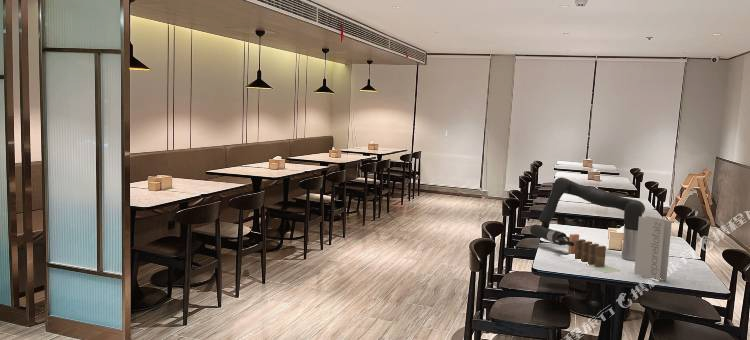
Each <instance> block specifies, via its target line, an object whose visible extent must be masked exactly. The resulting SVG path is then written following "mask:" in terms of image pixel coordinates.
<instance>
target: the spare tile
mask: <svg viewBox="0 0 750 340" xmlns="http://www.w3.org/2000/svg"><path fill="white" fill-rule="evenodd" d="M568 237H569V241H570V242H573V243H574V246H570V245H568V249H567V254H575V246H576V240H579V239H580V234H578V233H571V234H569V236H568Z"/></svg>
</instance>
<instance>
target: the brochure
mask: <svg viewBox="0 0 750 340" xmlns="http://www.w3.org/2000/svg"><path fill="white" fill-rule="evenodd" d="M672 222H673V221H672V220H667V219H663V218H659V217H652V216H648V215H646V216H645V217H644V216H642V217H639V223H638V235H637V247H636V259H635V261H634V272H633V274H635V275H639V276H640V278H641V277H642V278H645V279H647V278H654V279H657V280H659V281H661V280H660V278H661V279H663V280H662V281H664V280H665V281H664V282H667V278H668V269H669V268H668V267H669V255H670V245H671V236H672V235H671V234H672V233H671V232H672V225H673V224H672Z"/></svg>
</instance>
